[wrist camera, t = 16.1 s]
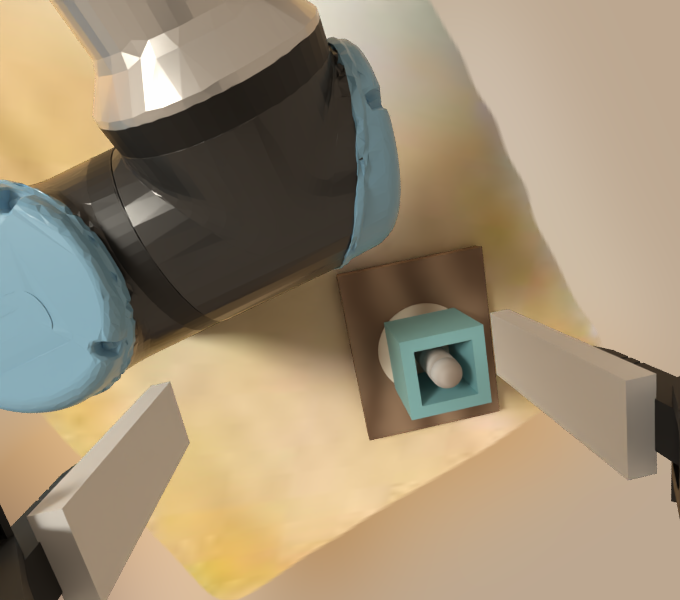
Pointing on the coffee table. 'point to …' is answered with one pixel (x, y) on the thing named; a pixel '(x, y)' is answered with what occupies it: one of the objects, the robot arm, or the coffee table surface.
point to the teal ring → (463, 347)
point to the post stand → (406, 301)
